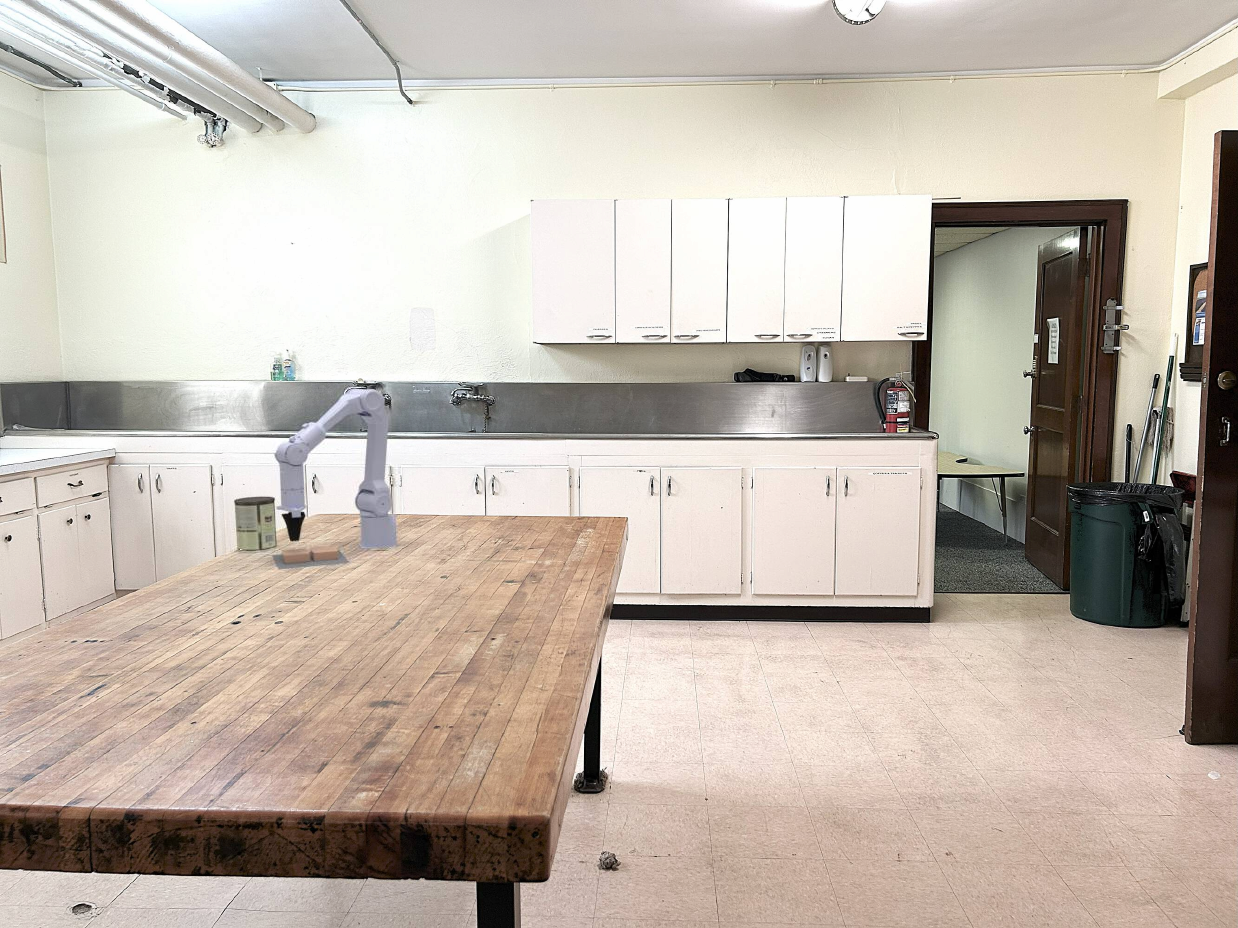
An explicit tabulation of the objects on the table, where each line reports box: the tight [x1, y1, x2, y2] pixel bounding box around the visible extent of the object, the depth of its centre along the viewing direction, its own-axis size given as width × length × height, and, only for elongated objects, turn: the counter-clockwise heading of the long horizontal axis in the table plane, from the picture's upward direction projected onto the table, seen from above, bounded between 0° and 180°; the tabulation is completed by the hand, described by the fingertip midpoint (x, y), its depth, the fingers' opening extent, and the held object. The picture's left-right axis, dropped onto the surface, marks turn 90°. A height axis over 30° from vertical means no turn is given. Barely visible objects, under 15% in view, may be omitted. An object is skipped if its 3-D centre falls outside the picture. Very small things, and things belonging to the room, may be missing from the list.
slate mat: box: [271, 549, 351, 570], centre depth 229 cm, size 17×18×1 cm
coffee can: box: [233, 496, 278, 554], centre depth 241 cm, size 10×10×14 cm
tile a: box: [309, 545, 339, 561], centre depth 231 cm, size 2×6×7 cm
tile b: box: [281, 547, 310, 564], centre depth 228 cm, size 2×6×7 cm
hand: (294, 540), depth 229 cm, fingers closed
